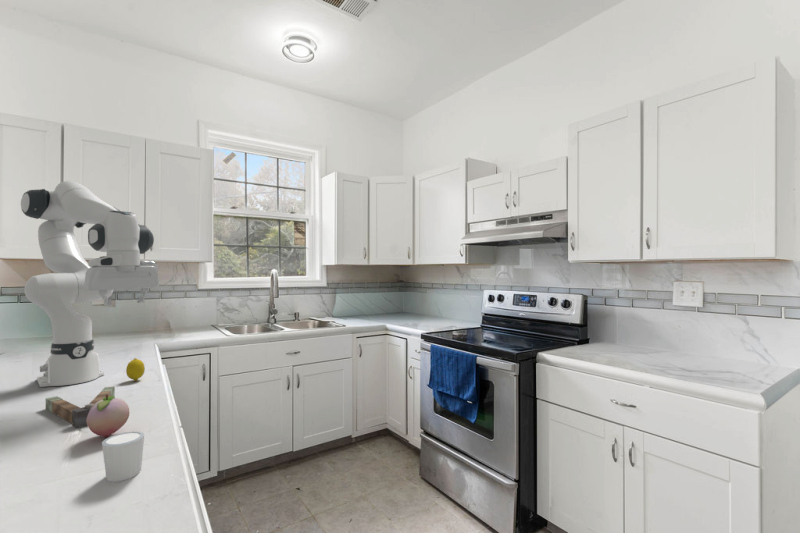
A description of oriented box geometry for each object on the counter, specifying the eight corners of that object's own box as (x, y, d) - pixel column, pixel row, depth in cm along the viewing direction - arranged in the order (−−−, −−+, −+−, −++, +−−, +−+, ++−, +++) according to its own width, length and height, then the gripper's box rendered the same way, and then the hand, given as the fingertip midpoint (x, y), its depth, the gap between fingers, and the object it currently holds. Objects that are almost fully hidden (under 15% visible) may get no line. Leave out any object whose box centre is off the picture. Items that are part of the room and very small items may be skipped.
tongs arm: (97, 417, 108) (96, 405, 108) (85, 418, 107) (85, 407, 107) (114, 395, 127) (114, 386, 127) (105, 397, 126) (105, 387, 126)
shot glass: (116, 466, 82) (115, 431, 82) (151, 464, 82) (151, 430, 82) (93, 484, 75) (92, 446, 75) (132, 482, 75) (131, 444, 75)
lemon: (135, 383, 141) (135, 360, 141) (122, 382, 142) (122, 360, 142) (148, 378, 147) (148, 357, 147) (135, 378, 148) (135, 356, 148)
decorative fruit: (129, 439, 94) (128, 396, 95) (84, 448, 90) (84, 403, 90) (130, 426, 102) (129, 386, 102) (89, 433, 98) (89, 392, 98)
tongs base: (43, 409, 116) (43, 393, 116) (71, 403, 121) (70, 387, 121) (77, 428, 102) (76, 409, 102) (106, 419, 107) (106, 402, 107)
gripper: (153, 261, 140) (154, 301, 140) (81, 261, 123) (82, 306, 123) (162, 260, 136) (163, 301, 136) (90, 260, 119) (91, 306, 119)
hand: (124, 303), depth 129 cm, fingers open, 8 cm apart
